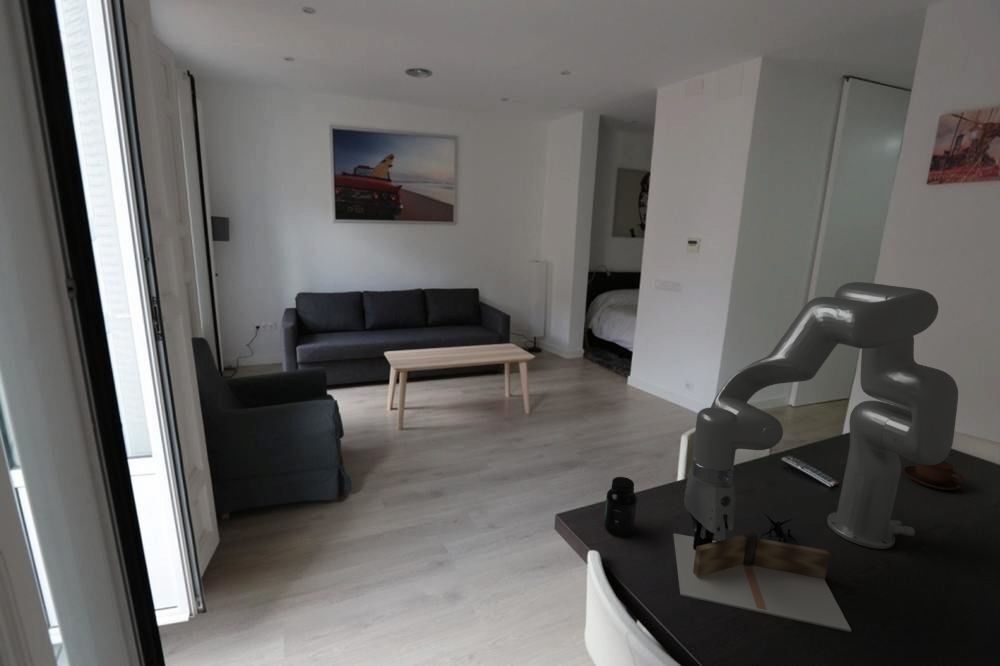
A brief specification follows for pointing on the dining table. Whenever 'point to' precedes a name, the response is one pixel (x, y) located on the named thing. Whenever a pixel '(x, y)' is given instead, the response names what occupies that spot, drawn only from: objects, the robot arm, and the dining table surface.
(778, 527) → the creature
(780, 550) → the fence
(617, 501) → the supplement bottle
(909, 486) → the dining table surface
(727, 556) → the gate panel
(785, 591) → the card
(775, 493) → the dining table surface
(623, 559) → the dining table surface
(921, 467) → the cup and saucer
